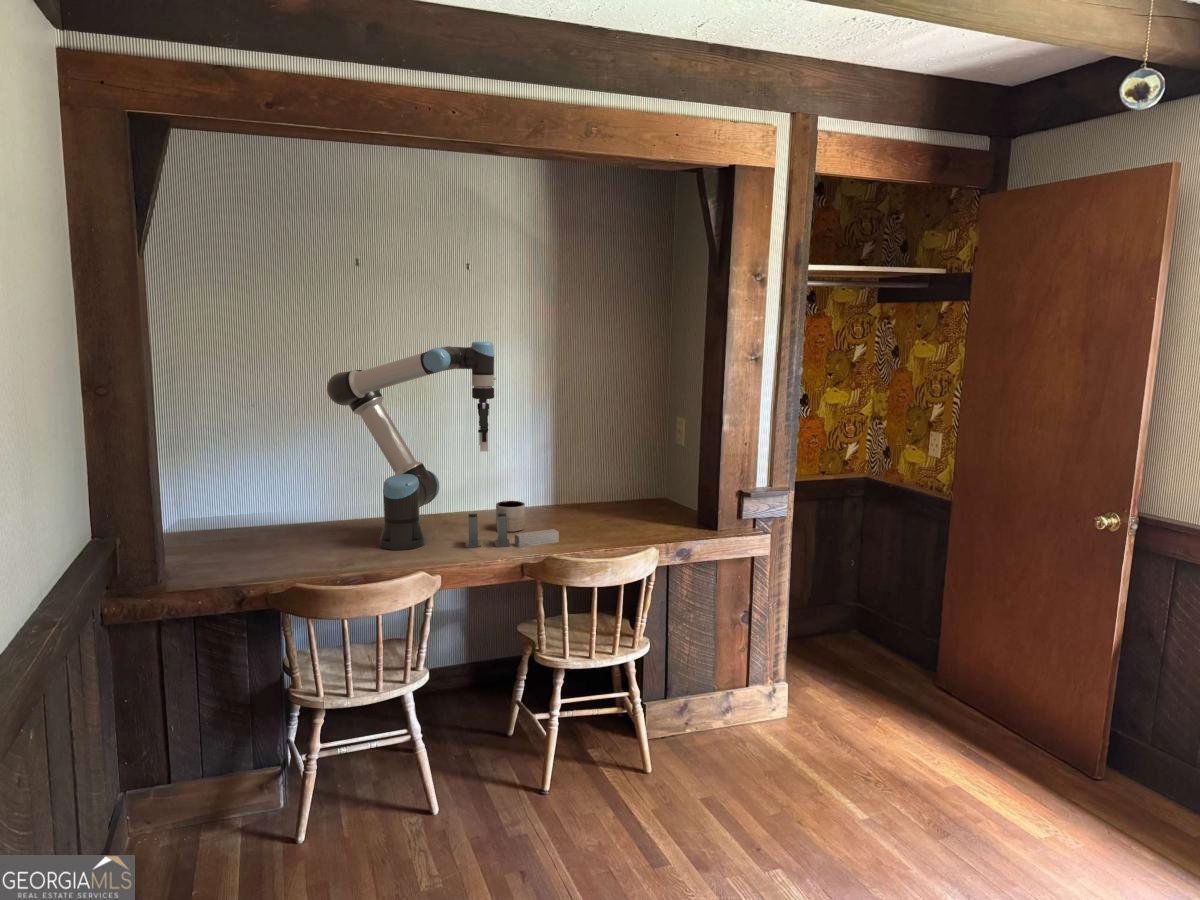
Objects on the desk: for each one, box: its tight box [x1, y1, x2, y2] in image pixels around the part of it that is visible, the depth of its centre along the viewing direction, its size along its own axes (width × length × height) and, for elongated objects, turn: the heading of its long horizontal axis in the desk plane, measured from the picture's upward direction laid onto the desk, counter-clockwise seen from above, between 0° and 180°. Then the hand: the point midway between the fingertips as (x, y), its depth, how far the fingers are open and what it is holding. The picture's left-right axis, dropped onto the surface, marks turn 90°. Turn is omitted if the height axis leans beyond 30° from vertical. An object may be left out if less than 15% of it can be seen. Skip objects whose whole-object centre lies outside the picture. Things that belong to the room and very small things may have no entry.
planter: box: [495, 500, 526, 533], centre depth 295 cm, size 11×11×10 cm
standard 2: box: [494, 513, 511, 548], centre depth 274 cm, size 5×7×10 cm
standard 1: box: [465, 512, 482, 549], centre depth 273 cm, size 5×7×10 cm
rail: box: [514, 528, 560, 548], centre depth 277 cm, size 15×4×4 cm, turn 118°
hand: (483, 448), depth 276 cm, fingers open, 13 cm apart
